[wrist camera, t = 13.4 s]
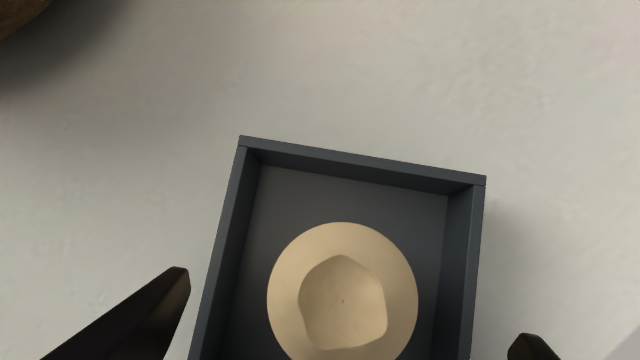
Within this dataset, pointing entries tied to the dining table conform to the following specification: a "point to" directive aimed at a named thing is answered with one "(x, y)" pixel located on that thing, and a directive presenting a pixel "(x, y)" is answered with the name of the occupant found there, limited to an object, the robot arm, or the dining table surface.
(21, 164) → the dining table surface
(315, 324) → the candle
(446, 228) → the dark gray square tray
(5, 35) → the bowl
